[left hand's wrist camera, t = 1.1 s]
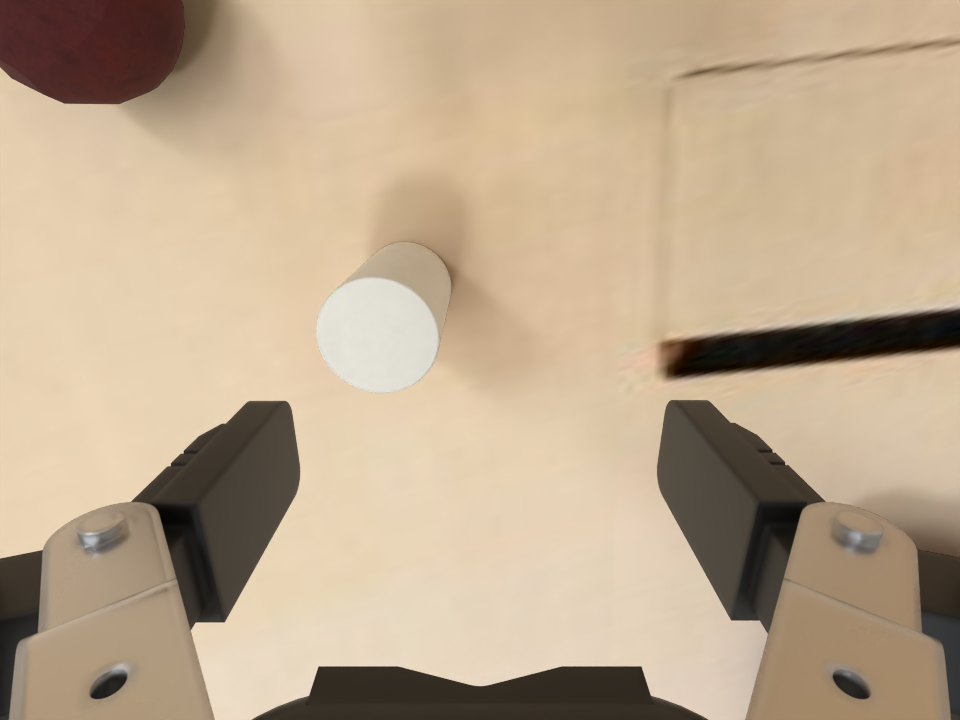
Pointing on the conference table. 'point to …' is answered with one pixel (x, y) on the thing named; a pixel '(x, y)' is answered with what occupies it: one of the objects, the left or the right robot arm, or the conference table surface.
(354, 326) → the can
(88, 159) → the conference table surface
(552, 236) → the conference table surface
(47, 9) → the dark red ball
